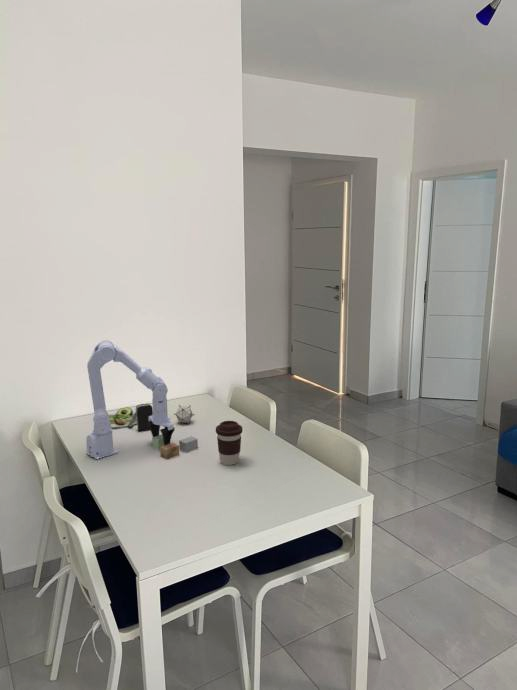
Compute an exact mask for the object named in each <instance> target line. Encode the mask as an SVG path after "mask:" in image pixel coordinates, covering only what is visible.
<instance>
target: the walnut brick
mask: <svg viewBox="0 0 517 690" xmlns="http://www.w3.org/2000/svg"><path fill="white" fill-rule="evenodd" d="M159 452H160V457H161V458H164V459H165V460H169V459H171V458H175V457H177V456H180V448H179V444H177V443H175V442H171V443H170V444H167V445H164V446H161V447H160V449H159ZM174 456H175V457H174Z"/></svg>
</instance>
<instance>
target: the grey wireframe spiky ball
mask: <svg viewBox="0 0 517 690" xmlns="http://www.w3.org/2000/svg"><path fill="white" fill-rule="evenodd" d="M173 415H174V416H175V417H176V419H177V421H178V422H177V424H180V423H183V424H184V423H187V424H189V425H190V421H191V420H192V418H193V416H195V414H194V413H193V411H192V409H191V405H189V406H181V405H180V404H179V405H178V409H177V410H176V413H174V414H173Z"/></svg>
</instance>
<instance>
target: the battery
mask: <svg viewBox="0 0 517 690" xmlns="http://www.w3.org/2000/svg"><path fill="white" fill-rule="evenodd" d="M135 412H136V417H137V424H136V425H137V431H138V432H143V431H151V430H150V428H149V427H148V425H147V424H148V423H150V421H149V418H148V417H149V416H152V415H153V405H151V404H150V403H140V404H138V405H136V407H135Z"/></svg>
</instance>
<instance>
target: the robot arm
mask: <svg viewBox="0 0 517 690" xmlns="http://www.w3.org/2000/svg"><path fill="white" fill-rule="evenodd" d="M111 361H113V362H114V363H122V364H123V365H124V366H125V367H126V368H128V369H129V370H130V371H132V372H133V373H134V374H135V376H136V378H135V379H136V380H138V381H139V382H140V383H141V384H142V385H143V386H145V387H146V389H149V390H151V391H152V400H151V402H152V410H153V415H152V416H149V417H148V418H149V421H150V423H148V424H147V425H148V427H149V428H150V430H149V431H150V432H151V436H152V437H155V436H158V435H160V432H161V434H162V435H163V440H164V445H167V444H170V440H171V439H172V437H173V434H174V432H175V429H176V428H175V426H174V424H173V423H171V421H170V420H171V418H170V417H168V398H167V396H168V395H167V394H168V392H169V389H168V386H167V384H166V383H165V381H164V380H163V378H161V377H160V376H157V375H156V374H154V373H153V370H152V369H151V367H149V368H148V367H145V366H144V367H142V366H140V365H139V364H138V363H137V362H136V361H135V359H133V358H131V357H130V356H129V355H128V354H127V353H126V352H125V351H124V350H122V349H121V348H120V347H119V346H118V345H116V344H114V343H113V342H112V341H110V340H108V339H107V340H106V339H105V340H104V339H103V340H102V341H100V342H99V343H98V344H96V345H95V347H94V348H93V351H92V353H91V356H90V357H89V359H88V361H87V364H86V365H87V366H86V367H87V373H88V380H89V387H90V393H91V398H92V405H93V414H94V416H93V419H92V420H93V430H92V433H90V434H89V435H87V436H86V441H85V442H86V451H87V452H86V455H88V456H89V455H90V456H89V457H91V458H92V457H94V458H96V459H97V458H98V457H99V458H100V459H102V458H101V457H103V458H106V457H109V456H112V455H115V454H118V453H119V451H118V450H116V449H114V438H113V428H111V426H112V424H111V423H110V416H109V415H110V414H109V413H108V411H107V406H106V401H105V393H104V385H103V379H102V374H101V373H102V372H101V369H102V367H104V366H105V365H106V364H107V363H109V362H111ZM161 427H164V428H162V429H160V428H161ZM105 456H106V457H105ZM94 458H93V459H94ZM96 459H95V460H96ZM97 460H98V459H97Z"/></svg>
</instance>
